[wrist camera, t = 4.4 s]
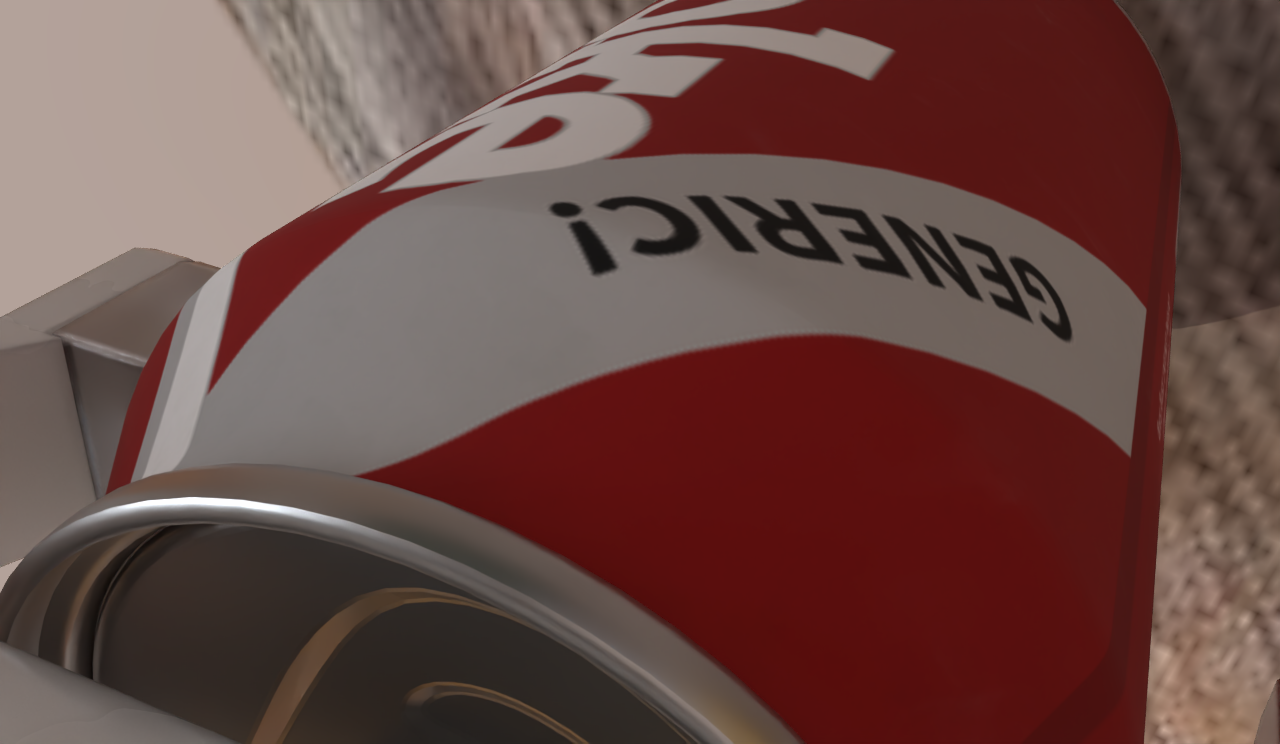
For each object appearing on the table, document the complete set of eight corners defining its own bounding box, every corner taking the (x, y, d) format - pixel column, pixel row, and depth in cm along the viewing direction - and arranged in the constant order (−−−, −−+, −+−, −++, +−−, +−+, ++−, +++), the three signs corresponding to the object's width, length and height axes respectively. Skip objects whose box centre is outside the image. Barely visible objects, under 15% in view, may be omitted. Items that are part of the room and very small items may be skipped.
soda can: (1312, 191, 14) (1522, 1342, 4) (891, 473, 18) (521, 1393, 8) (910, -243, 13) (153, -12, 4) (568, 148, 17) (-214, 734, 8)
